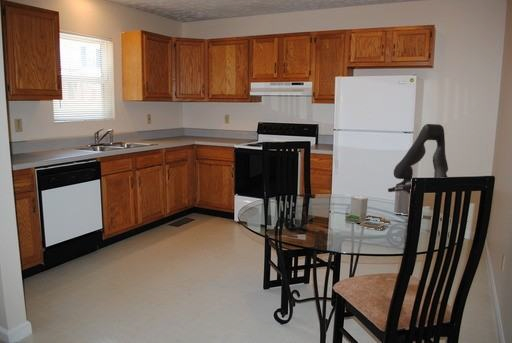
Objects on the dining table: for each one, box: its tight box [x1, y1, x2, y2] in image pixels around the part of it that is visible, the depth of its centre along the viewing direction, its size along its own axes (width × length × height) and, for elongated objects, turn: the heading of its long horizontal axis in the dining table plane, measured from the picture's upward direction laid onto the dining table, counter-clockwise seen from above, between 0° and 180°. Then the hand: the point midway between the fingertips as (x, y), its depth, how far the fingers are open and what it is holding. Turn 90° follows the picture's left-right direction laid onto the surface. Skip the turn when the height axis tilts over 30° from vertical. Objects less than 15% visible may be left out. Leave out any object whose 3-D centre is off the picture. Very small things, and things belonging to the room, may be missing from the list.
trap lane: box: [345, 213, 391, 231], centre depth 251 cm, size 24×24×4 cm
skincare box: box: [349, 195, 369, 222], centre depth 253 cm, size 8×7×16 cm
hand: (388, 190), depth 247 cm, fingers closed
